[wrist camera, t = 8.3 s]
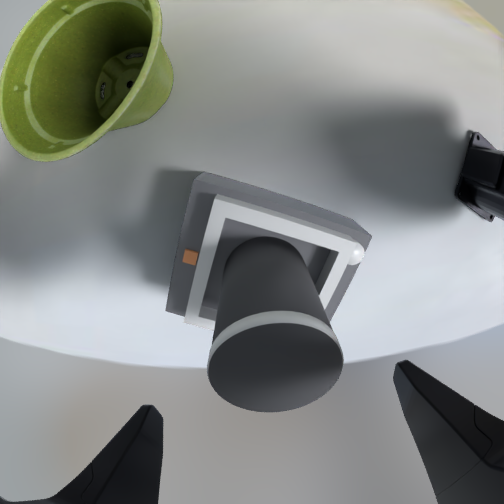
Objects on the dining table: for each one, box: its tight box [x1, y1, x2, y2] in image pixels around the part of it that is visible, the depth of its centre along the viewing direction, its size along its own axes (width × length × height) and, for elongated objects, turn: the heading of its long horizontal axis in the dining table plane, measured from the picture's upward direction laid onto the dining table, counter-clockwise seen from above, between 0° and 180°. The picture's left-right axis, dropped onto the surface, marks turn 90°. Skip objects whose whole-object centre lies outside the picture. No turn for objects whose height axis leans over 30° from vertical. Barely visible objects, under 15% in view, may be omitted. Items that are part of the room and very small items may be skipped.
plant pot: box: [0, 0, 173, 162], centre depth 11 cm, size 9×9×9 cm
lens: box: [207, 236, 344, 412], centre depth 13 cm, size 5×5×8 cm
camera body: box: [166, 172, 372, 331], centre depth 18 cm, size 11×9×5 cm
